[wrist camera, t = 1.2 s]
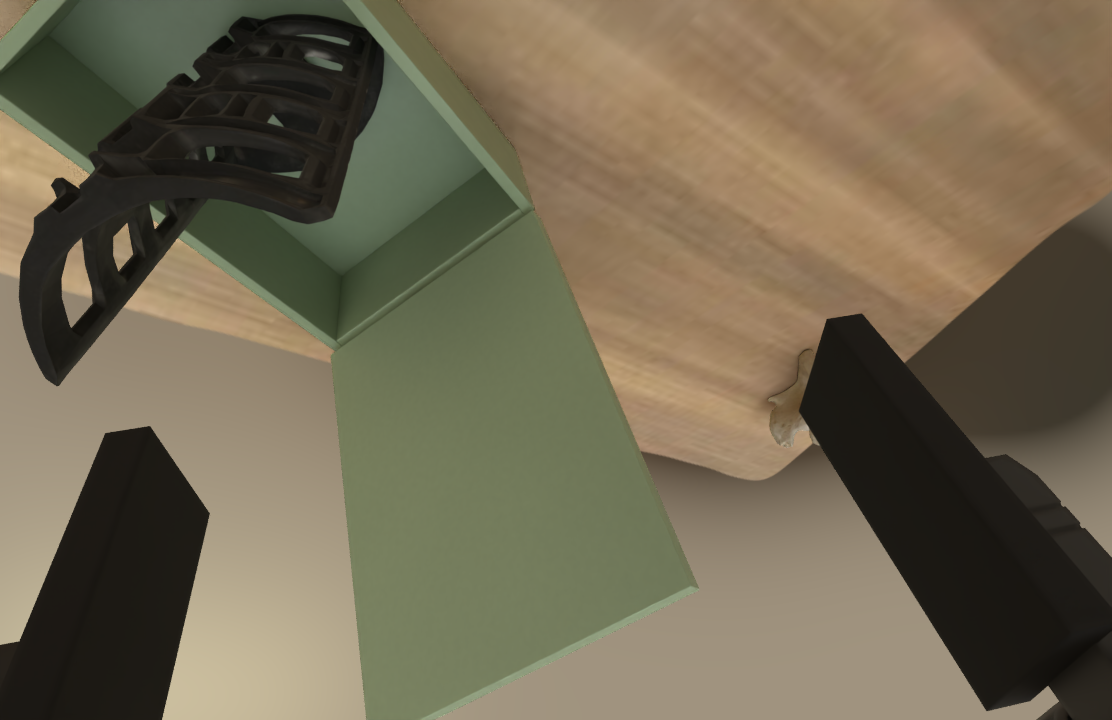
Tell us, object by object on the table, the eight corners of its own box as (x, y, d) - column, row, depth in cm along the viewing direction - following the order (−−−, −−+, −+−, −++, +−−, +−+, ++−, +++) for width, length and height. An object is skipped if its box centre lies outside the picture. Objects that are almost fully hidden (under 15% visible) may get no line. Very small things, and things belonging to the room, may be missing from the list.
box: (32, 28, 31) (-39, 82, 26) (241, -197, 27) (206, -185, 22) (342, 281, 43) (336, 352, 38) (516, 150, 39) (535, 209, 34)
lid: (368, 745, 25) (383, 745, 26) (691, 586, 22) (700, 590, 22) (330, 354, 37) (340, 360, 38) (532, 209, 34) (540, 218, 34)
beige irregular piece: (811, 438, 62) (819, 502, 53) (751, 404, 62) (749, 461, 54) (871, 369, 58) (891, 426, 49) (806, 332, 58) (814, 382, 49)
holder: (292, 209, 38) (184, 457, 23) (165, 115, 34) (-73, 335, 19) (418, 66, 35) (393, 244, 19) (291, -58, 31) (126, 37, 15)
